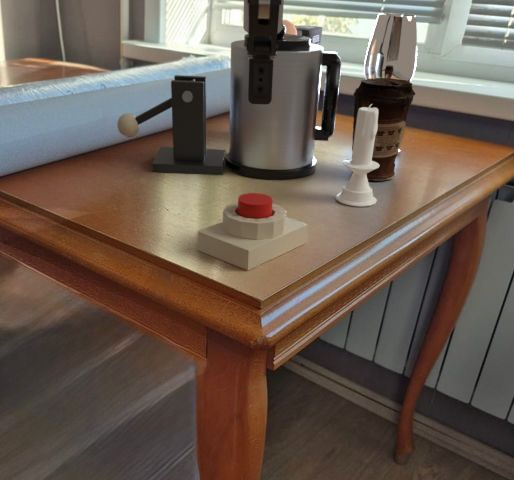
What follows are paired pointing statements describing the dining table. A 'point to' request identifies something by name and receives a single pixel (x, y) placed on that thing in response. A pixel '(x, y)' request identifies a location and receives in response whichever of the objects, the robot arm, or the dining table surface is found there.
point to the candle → (361, 160)
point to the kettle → (282, 110)
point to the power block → (251, 237)
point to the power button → (255, 206)
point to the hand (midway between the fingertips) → (259, 102)
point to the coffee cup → (385, 119)
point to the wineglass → (392, 48)
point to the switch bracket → (189, 132)
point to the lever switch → (140, 118)
